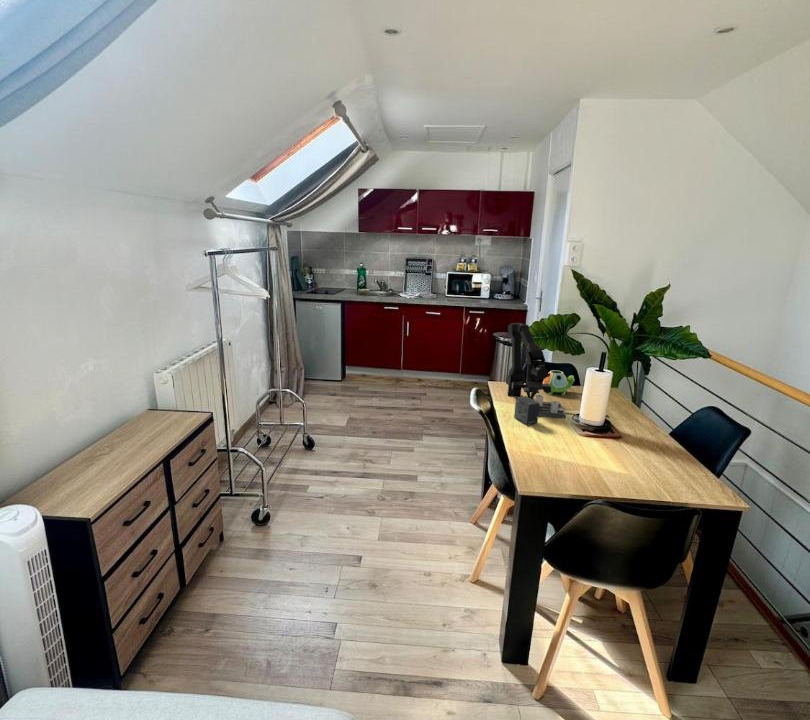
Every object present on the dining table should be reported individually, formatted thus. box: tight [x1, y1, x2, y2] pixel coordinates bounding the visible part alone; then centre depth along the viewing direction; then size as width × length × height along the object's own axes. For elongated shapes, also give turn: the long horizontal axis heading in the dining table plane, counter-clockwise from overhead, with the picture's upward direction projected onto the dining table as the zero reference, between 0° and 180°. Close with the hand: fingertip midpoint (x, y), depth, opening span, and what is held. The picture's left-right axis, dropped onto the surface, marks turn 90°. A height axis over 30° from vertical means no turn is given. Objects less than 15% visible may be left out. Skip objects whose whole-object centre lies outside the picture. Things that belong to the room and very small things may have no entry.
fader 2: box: [550, 400, 559, 414], centre depth 223 cm, size 3×3×5 cm
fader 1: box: [535, 394, 544, 406], centre depth 232 cm, size 3×3×5 cm
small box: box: [513, 395, 540, 426], centre depth 215 cm, size 11×6×10 cm, turn 22°
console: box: [538, 400, 567, 419], centre depth 230 cm, size 15×18×2 cm
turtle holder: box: [542, 370, 576, 396], centre depth 258 cm, size 12×18×12 cm
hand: (529, 403), depth 233 cm, fingers closed
